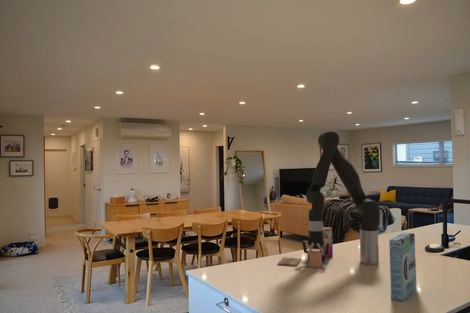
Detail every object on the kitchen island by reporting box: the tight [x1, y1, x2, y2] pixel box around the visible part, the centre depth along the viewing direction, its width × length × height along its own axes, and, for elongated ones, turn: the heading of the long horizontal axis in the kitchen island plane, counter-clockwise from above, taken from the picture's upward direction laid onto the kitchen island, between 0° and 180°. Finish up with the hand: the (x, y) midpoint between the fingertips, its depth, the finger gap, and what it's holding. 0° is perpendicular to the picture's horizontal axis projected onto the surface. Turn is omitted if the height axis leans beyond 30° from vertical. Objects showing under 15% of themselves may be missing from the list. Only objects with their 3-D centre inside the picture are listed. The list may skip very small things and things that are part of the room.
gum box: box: [388, 232, 418, 302], centre depth 147 cm, size 20×5×23 cm, turn 140°
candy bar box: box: [322, 226, 334, 259], centre depth 206 cm, size 11×5×16 cm, turn 84°
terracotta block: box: [308, 249, 323, 267], centre depth 189 cm, size 6×9×7 cm, turn 160°
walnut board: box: [277, 256, 302, 268], centre depth 194 cm, size 10×13×1 cm
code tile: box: [303, 260, 329, 270], centre depth 189 cm, size 11×14×1 cm
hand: (316, 261), depth 189 cm, fingers closed on terracotta block, 6 cm apart
